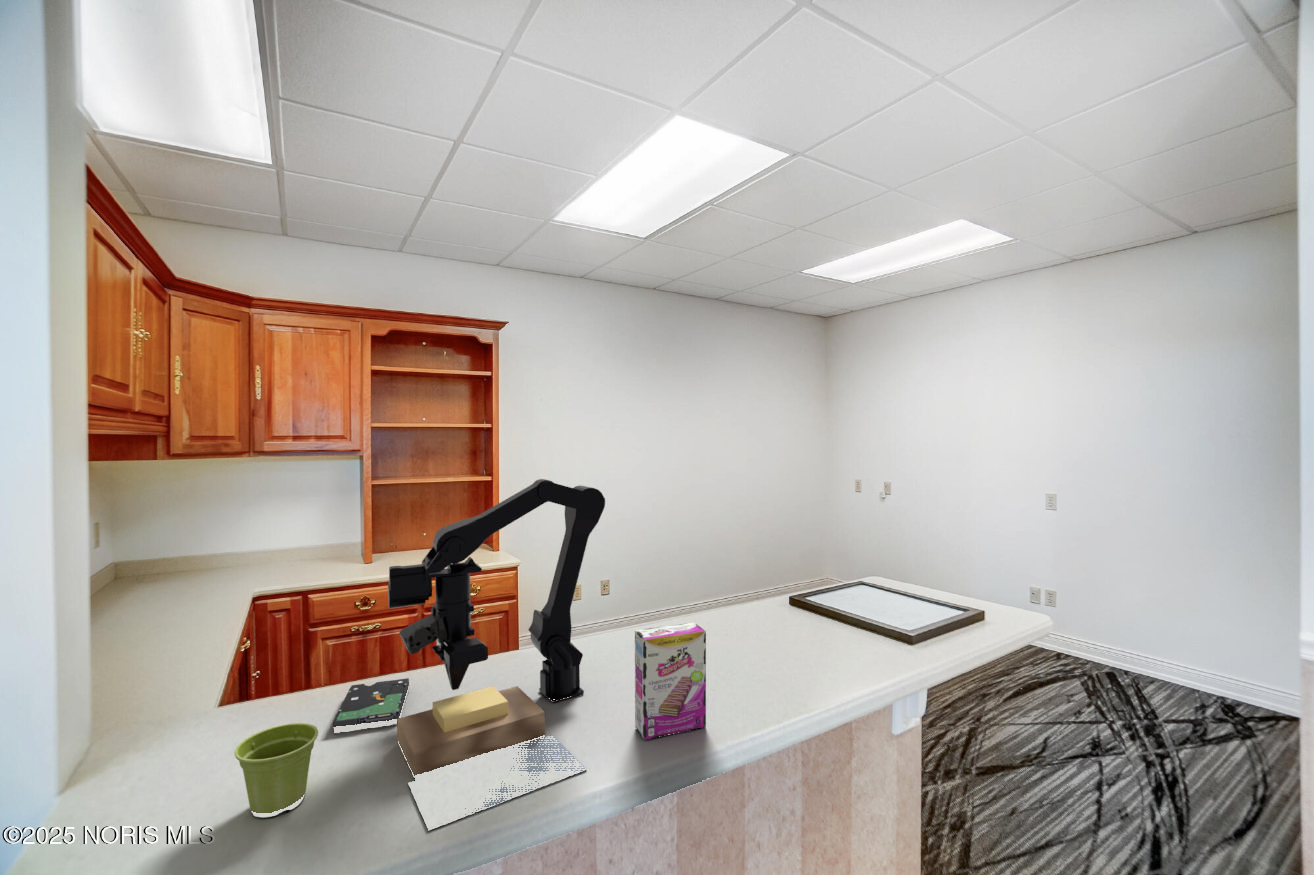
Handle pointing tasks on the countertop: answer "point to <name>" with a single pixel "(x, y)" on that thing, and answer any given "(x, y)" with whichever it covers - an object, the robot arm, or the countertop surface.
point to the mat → (540, 759)
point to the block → (469, 708)
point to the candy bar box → (670, 679)
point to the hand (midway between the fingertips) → (454, 688)
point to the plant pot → (276, 765)
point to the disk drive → (372, 703)
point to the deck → (468, 734)
